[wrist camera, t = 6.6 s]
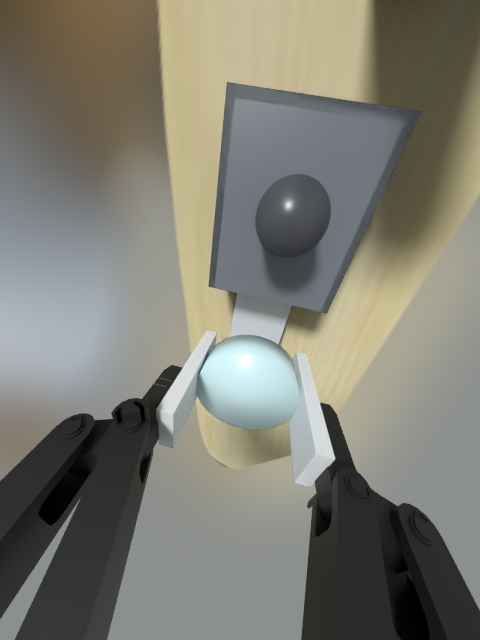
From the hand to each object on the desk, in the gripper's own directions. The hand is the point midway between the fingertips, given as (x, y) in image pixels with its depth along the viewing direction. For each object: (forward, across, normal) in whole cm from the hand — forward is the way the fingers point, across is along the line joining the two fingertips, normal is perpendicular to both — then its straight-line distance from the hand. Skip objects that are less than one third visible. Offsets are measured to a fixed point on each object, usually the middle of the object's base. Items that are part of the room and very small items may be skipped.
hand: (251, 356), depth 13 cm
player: (+8, 0, +9) cm, 12 cm away
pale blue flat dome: (-2, 0, 0) cm, 2 cm away
